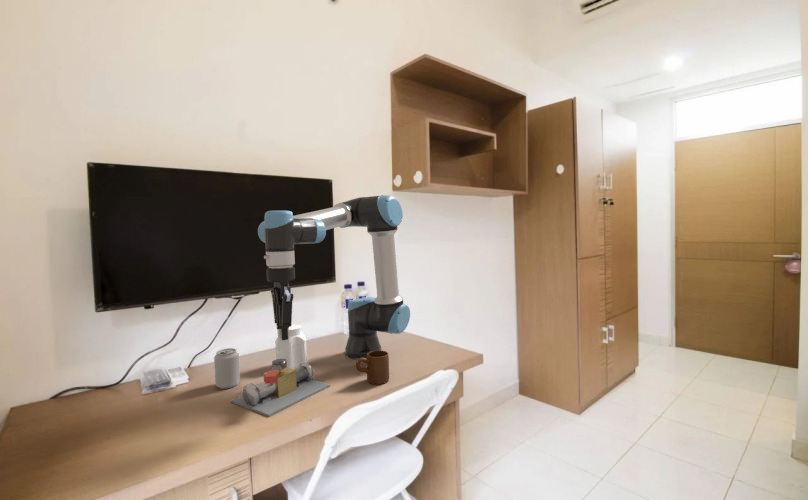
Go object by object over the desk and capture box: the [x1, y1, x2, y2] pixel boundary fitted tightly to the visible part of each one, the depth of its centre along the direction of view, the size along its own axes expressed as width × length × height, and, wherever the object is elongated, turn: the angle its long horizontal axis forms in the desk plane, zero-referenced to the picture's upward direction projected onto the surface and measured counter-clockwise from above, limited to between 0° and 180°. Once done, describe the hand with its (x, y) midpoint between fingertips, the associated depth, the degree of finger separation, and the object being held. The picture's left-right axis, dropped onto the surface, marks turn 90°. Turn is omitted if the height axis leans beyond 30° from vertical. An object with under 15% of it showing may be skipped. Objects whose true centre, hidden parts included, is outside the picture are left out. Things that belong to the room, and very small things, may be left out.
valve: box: [242, 361, 314, 406], centre depth 122 cm, size 22×7×8 cm, turn 147°
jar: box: [274, 324, 308, 370], centre depth 147 cm, size 12×10×15 cm
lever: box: [265, 358, 287, 384], centre depth 116 cm, size 15×4×2 cm, turn 7°
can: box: [213, 348, 241, 390], centre depth 129 cm, size 8×8×12 cm
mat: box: [230, 378, 331, 418], centre depth 122 cm, size 24×18×1 cm
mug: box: [355, 350, 390, 386], centre depth 129 cm, size 12×8×9 cm, turn 121°
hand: (283, 350), depth 107 cm, fingers closed
